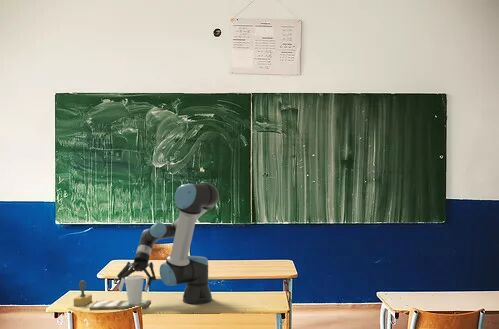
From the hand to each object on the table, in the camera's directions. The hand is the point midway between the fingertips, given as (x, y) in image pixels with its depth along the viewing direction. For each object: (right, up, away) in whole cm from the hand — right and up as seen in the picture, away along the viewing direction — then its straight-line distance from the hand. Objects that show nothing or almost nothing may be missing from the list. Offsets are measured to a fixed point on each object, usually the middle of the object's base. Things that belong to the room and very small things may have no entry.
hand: (132, 290), depth 278 cm
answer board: (-7, -8, +2) cm, 11 cm away
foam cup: (+1, -7, +2) cm, 7 cm away
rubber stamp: (-28, -9, +9) cm, 30 cm away
